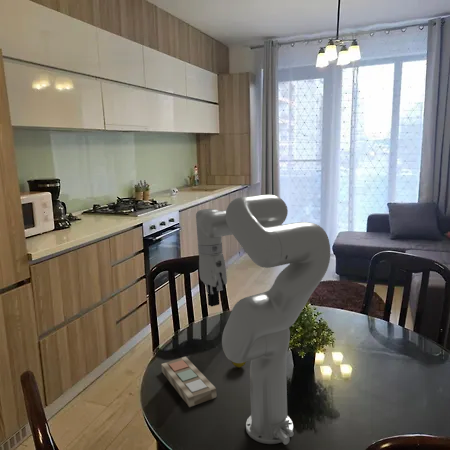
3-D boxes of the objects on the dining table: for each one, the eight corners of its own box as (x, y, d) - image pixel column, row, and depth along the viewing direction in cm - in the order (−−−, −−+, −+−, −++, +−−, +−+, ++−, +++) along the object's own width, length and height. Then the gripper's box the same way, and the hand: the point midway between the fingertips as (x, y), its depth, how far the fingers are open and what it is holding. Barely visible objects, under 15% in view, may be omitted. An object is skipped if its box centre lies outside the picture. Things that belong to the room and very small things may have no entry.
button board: (216, 397, 125) (216, 388, 124) (189, 407, 121) (188, 397, 120) (186, 364, 145) (185, 356, 144) (162, 371, 141) (161, 363, 140)
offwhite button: (207, 394, 126) (207, 386, 125) (192, 400, 123) (192, 391, 123) (200, 386, 130) (200, 379, 129) (186, 391, 128) (185, 383, 127)
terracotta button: (189, 373, 138) (188, 366, 137) (175, 378, 135) (174, 370, 135) (183, 367, 142) (182, 360, 142) (169, 371, 140) (169, 364, 139)
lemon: (246, 372, 138) (245, 350, 136) (229, 371, 139) (228, 349, 138) (248, 363, 143) (247, 342, 142) (232, 362, 144) (231, 341, 143)
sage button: (197, 383, 132) (197, 376, 131) (183, 388, 129) (182, 380, 129) (191, 376, 136) (191, 369, 135) (177, 381, 134) (176, 373, 133)
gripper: (233, 250, 124) (236, 308, 127) (209, 243, 137) (212, 296, 140) (211, 254, 120) (215, 314, 123) (188, 247, 133) (192, 301, 136)
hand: (213, 304), depth 131 cm, fingers closed
